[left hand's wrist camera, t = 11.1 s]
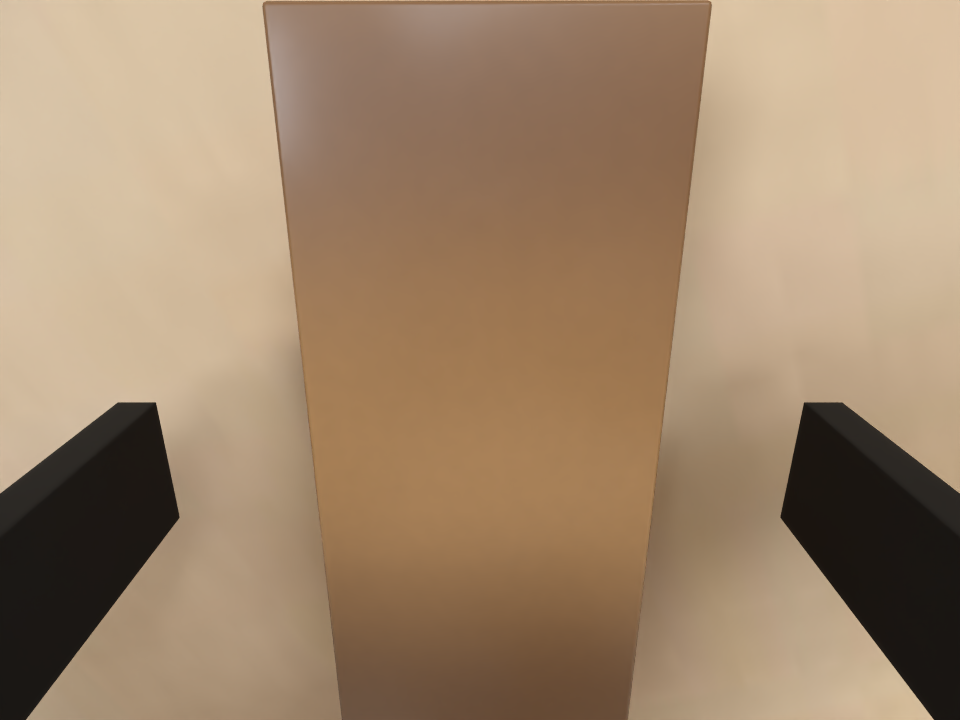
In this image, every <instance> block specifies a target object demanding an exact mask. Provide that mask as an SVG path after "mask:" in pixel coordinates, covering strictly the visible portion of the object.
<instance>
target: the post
mask: <svg viewBox="0 0 960 720" xmlns="http://www.w3.org/2000/svg"><path fill="white" fill-rule="evenodd" d="M262 7H263V16H264V25H265V33H266V42H267V51H268V60H269V69H270V78H271V87H272V96H273V105H274V114H275V123H276V132H277V141H278V150H279V159H280V168H281V177H282V186H283V195H284V204H285V213H286V222H287V231H288V240H289V249H290V258H291V267H292V276H293V285H294V294H295V303H296V312H297V321H298V330H299V338H300V347H301V356H302V365H303V374H304V383H305V392H306V401H307V410H308V419H309V428H310V437H311V446H312V455H313V464H314V473H315V482H316V491H317V500H318V509H319V518H320V527H321V536H322V545H323V554H324V563H325V572H326V581H327V590H328V599H329V608H330V617H331V626H332V634H333V643H334V652H335V661H336V670H337V679H338V688H339V697H340V706H341V715H342V720H628V713H629V704H630V696H631V687H632V679H633V670H634V662H635V653H636V645H637V636H638V628H639V619H640V611H641V602H642V594H643V585H644V577H645V568H646V560H647V551H648V543H649V534H650V526H651V517H652V509H653V500H654V492H655V483H656V475H657V466H658V458H659V450H660V441H661V433H662V424H663V416H664V407H665V399H666V390H667V382H668V373H669V365H670V356H671V348H672V339H673V331H674V322H675V314H676V305H677V297H678V288H679V280H680V271H681V263H682V254H683V246H684V237H685V229H686V220H687V212H688V203H689V195H690V186H691V178H692V169H693V161H694V152H695V144H696V135H697V127H698V118H699V110H700V101H701V93H702V84H703V76H704V67H705V59H706V50H707V42H708V33H709V25H710V16H711V8H712V4H711V2H710V1H708V0H593V1H266V2H264V3H263V6H262Z"/></svg>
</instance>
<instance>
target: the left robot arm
mask: <svg viewBox="0 0 960 720" xmlns="http://www.w3.org/2000/svg"><path fill="white" fill-rule="evenodd" d="M179 518H180V517H179V512H178V507H177V502H176V498H175V493H174V488H173V483H172V478H171V473H170V469H169V464H168V459H167V454H166V449H165V444H164V439H163V435H162V430H161V425H160V420H159V415H158V410H157V406H156V403H117V404H115V405H114V406H113V407H112V408H110V409H109V410H108V411H106V412H105V413H104V414H103V415H101V416H100V417H99V418H97V419H96V420H95V421H94V422H92V423H91V424H90V425H88V426H87V427H86V428H84V429H83V430H82V431H81V432H79V433H78V434H77V435H75V436H74V437H73V438H72V439H70V440H69V441H68V442H66V443H65V444H64V445H63V446H61V447H60V448H59V449H57V450H56V451H55V452H53V453H52V454H51V455H50V456H48V457H47V458H46V459H44V460H43V461H42V462H41V463H39V464H38V465H37V466H35V467H34V468H33V469H32V470H30V471H29V472H28V473H26V474H25V475H24V476H23V477H21V478H20V479H19V480H17V481H16V482H15V483H13V484H12V485H11V486H10V487H8V488H7V489H6V490H4V491H3V492H2V493H1V494H0V720H26V719H27V718H28V716H29V715H30V714H31V712H32V711H33V710H34V708H35V707H36V706H37V704H38V703H39V702H40V701H41V699H42V698H43V697H44V695H45V694H46V693H47V691H48V690H49V689H50V687H51V686H52V685H53V683H54V682H55V681H56V679H57V678H58V677H59V676H60V674H61V673H62V672H63V670H64V669H65V668H66V666H67V665H68V664H69V662H70V661H71V660H72V658H73V657H74V656H75V654H76V653H77V652H78V651H79V649H80V648H81V647H82V645H83V644H84V643H85V641H86V640H87V639H88V637H89V636H90V635H91V633H92V632H93V631H94V629H95V628H96V627H97V626H98V624H99V623H100V622H101V620H102V619H103V618H104V616H105V615H106V614H107V612H108V611H109V610H110V608H111V607H112V606H113V604H114V603H115V602H116V601H117V599H118V598H119V597H120V595H121V594H122V593H123V591H124V590H125V589H126V587H127V586H128V585H129V583H130V582H131V581H132V579H133V578H134V577H135V576H136V574H137V573H138V572H139V570H140V569H141V568H142V566H143V565H144V564H145V562H146V561H147V560H148V558H149V557H150V556H151V554H152V553H153V552H154V551H155V549H156V548H157V547H158V545H159V544H160V543H161V541H162V540H163V539H164V537H165V536H166V535H167V533H168V532H169V531H170V529H171V528H172V527H173V526H174V524H175V523H176V522H177V520H178V519H179ZM780 518H781V519H782V520H783V522H784V523H785V524H786V526H787V527H788V528H789V529H790V531H791V532H792V533H793V535H794V536H795V537H796V539H797V540H798V541H799V543H800V544H801V545H802V547H803V548H804V549H805V551H806V552H807V553H808V554H809V556H810V557H811V558H812V560H813V561H814V562H815V564H816V565H817V566H818V568H819V569H820V570H821V572H822V573H823V574H824V576H825V577H826V578H827V579H828V581H829V582H830V583H831V585H832V586H833V587H834V589H835V590H836V591H837V593H838V594H839V595H840V597H841V598H842V599H843V601H844V602H845V603H846V604H847V606H848V607H849V608H850V610H851V611H852V612H853V614H854V615H855V616H856V618H857V619H858V620H859V622H860V623H861V624H862V626H863V627H864V628H865V629H866V631H867V632H868V633H869V635H870V636H871V637H872V639H873V640H874V641H875V643H876V644H877V645H878V647H879V648H880V649H881V651H882V652H883V653H884V654H885V656H886V657H887V658H888V660H889V661H890V662H891V664H892V665H893V666H894V668H895V669H896V670H897V672H898V673H899V674H900V676H901V677H902V678H903V679H904V681H905V682H906V683H907V685H908V686H909V687H910V689H911V690H912V691H913V693H914V694H915V695H916V697H917V698H918V699H919V701H920V702H921V703H922V704H923V706H924V707H925V708H926V710H927V711H928V712H929V714H930V715H931V716H932V718H933V719H934V720H960V494H959V493H958V492H957V491H956V490H954V489H953V488H952V487H950V486H949V485H948V484H947V483H945V482H944V481H943V480H941V479H940V478H939V477H937V476H936V475H935V474H934V473H932V472H931V471H930V470H928V469H927V468H926V467H925V466H923V465H922V464H921V463H919V462H918V461H917V460H916V459H914V458H913V457H912V456H910V455H909V454H908V453H907V452H905V451H904V450H903V449H901V448H900V447H899V446H897V445H896V444H895V443H894V442H892V441H891V440H890V439H888V438H887V437H886V436H885V435H883V434H882V433H881V432H879V431H878V430H877V429H876V428H874V427H873V426H872V425H870V424H869V423H868V422H866V421H865V420H864V419H863V418H861V417H860V416H859V415H857V414H856V413H855V412H854V411H852V410H851V409H850V408H848V407H847V406H846V405H845V404H843V403H804V406H803V410H802V415H801V420H800V425H799V430H798V435H797V439H796V444H795V449H794V454H793V459H792V464H791V469H790V473H789V478H788V483H787V488H786V493H785V498H784V502H783V507H782V512H781V517H780Z"/></svg>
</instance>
